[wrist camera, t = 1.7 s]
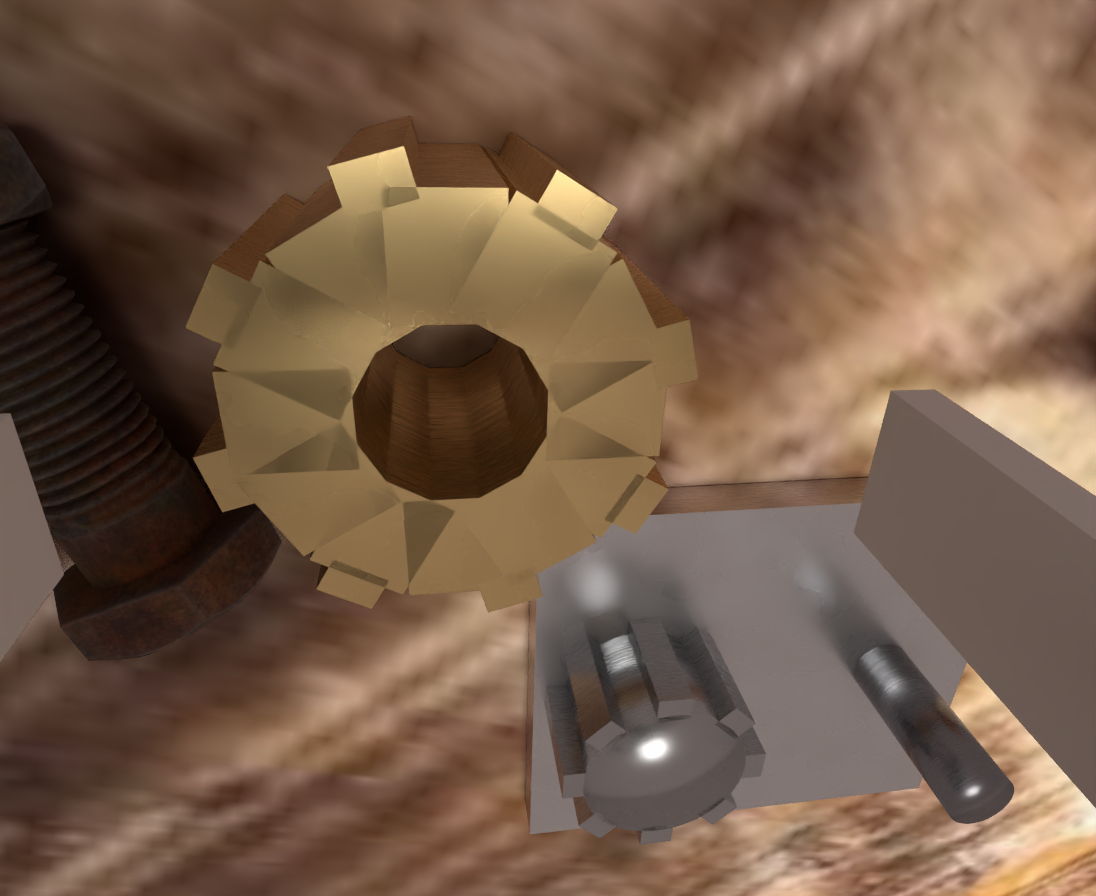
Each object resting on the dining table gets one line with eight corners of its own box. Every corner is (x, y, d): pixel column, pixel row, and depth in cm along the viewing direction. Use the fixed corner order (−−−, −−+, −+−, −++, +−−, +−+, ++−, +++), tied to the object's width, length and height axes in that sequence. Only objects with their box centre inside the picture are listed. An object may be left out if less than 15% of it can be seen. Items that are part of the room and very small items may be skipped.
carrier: (524, 799, 29) (552, 995, 23) (532, 494, 23) (572, 655, 17) (898, 757, 32) (1012, 925, 25) (999, 470, 25) (1186, 603, 19)
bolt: (-87, -34, 16) (245, 509, 23) (-380, 25, 14) (81, 605, 21) (-117, -144, 12) (307, 572, 19) (-556, -82, 10) (106, 702, 16)
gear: (286, 465, 21) (230, 631, 15) (232, 111, 17) (124, 141, 11) (601, 451, 22) (669, 598, 16) (625, 120, 18) (728, 151, 12)
